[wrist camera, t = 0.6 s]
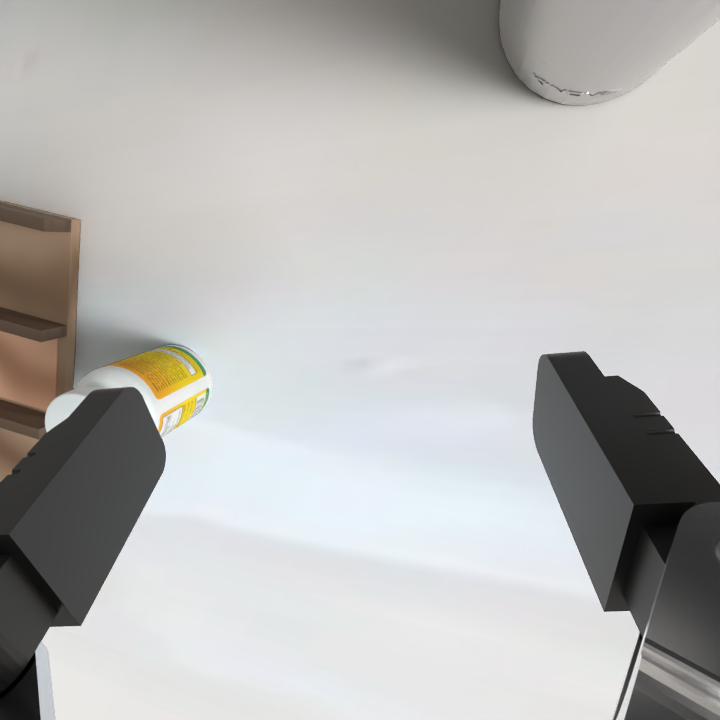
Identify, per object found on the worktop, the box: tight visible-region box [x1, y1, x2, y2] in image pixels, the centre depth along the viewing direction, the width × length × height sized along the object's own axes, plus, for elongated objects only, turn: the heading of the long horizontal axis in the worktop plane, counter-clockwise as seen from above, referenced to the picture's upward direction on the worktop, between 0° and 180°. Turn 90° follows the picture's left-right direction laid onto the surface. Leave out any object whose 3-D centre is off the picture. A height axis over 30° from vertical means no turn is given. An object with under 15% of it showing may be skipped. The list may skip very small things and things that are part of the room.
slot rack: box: [0, 201, 81, 483], centre depth 34 cm, size 23×9×3 cm, turn 167°
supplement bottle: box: [45, 345, 212, 437], centre depth 29 cm, size 5×5×10 cm
